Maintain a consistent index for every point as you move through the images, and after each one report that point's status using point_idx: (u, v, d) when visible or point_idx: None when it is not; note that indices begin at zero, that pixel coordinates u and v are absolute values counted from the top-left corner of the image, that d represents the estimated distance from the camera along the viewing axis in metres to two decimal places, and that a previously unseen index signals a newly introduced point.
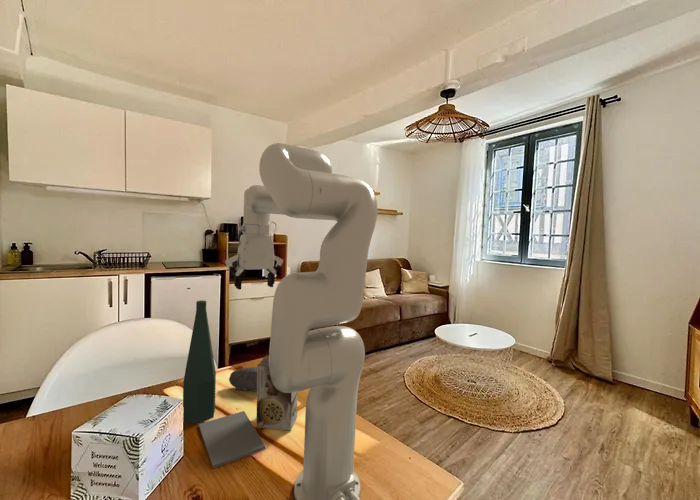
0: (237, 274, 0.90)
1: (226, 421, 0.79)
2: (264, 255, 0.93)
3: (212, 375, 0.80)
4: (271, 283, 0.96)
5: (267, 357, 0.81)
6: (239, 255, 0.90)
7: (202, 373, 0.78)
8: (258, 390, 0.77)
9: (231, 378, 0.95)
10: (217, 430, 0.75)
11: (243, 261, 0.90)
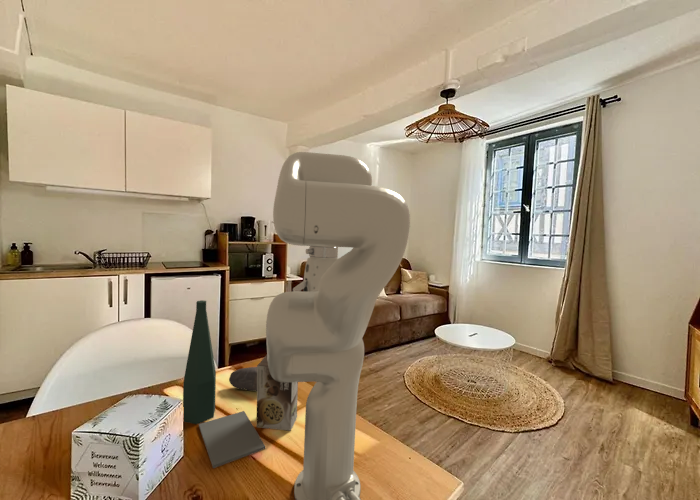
0: None
1: (226, 421, 0.79)
2: None
3: (212, 375, 0.80)
4: None
5: None
6: (307, 281, 0.81)
7: (202, 373, 0.78)
8: (258, 390, 0.77)
9: (231, 378, 0.95)
10: (217, 430, 0.75)
11: (312, 288, 0.81)
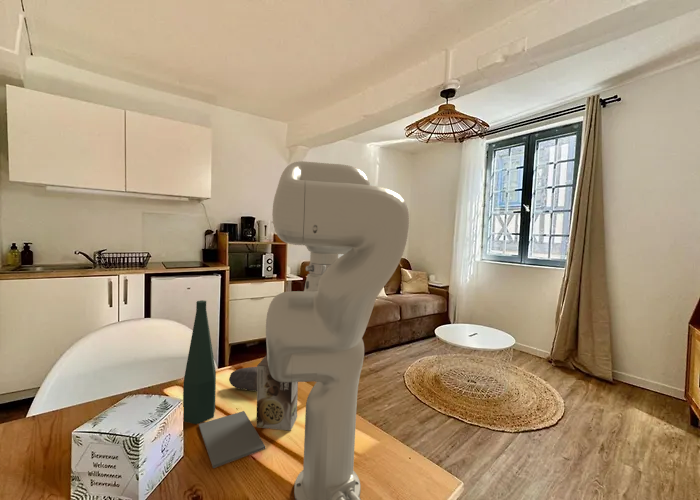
0: None
1: (226, 421, 0.79)
2: None
3: (212, 375, 0.80)
4: None
5: None
6: None
7: (202, 373, 0.78)
8: (258, 390, 0.77)
9: (231, 378, 0.95)
10: (217, 430, 0.75)
11: None
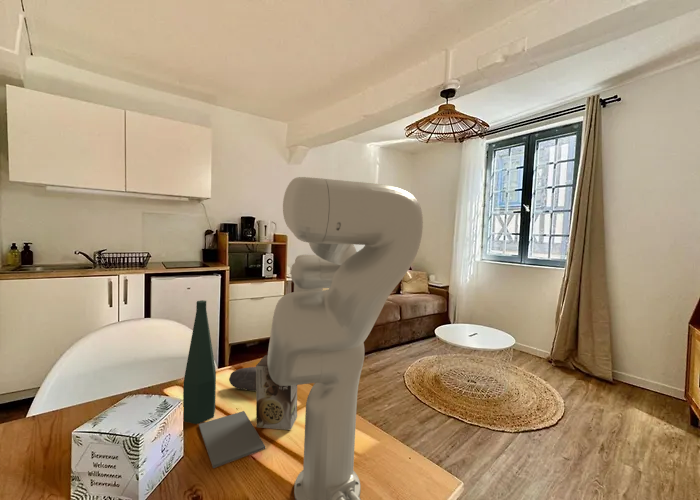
0: None
1: (226, 421, 0.79)
2: None
3: (212, 375, 0.80)
4: None
5: (266, 357, 0.81)
6: None
7: (202, 373, 0.78)
8: (257, 390, 0.77)
9: (231, 378, 0.95)
10: (217, 430, 0.75)
11: None
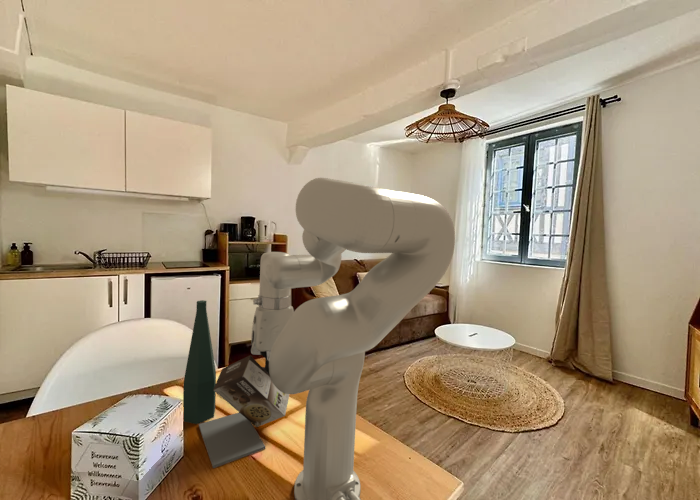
0: None
1: (226, 421, 0.79)
2: None
3: (212, 375, 0.80)
4: None
5: (222, 372, 0.75)
6: (254, 334, 0.75)
7: (202, 373, 0.78)
8: (232, 405, 0.74)
9: None
10: (217, 430, 0.75)
11: (259, 342, 0.74)
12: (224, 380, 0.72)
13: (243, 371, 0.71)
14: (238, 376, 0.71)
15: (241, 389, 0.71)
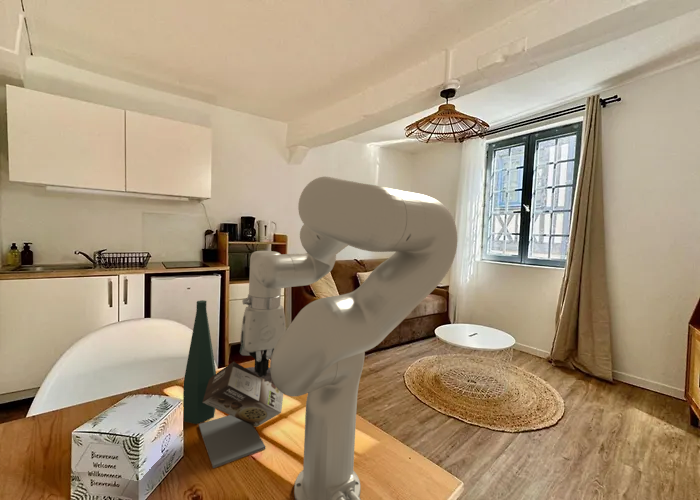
0: (259, 359, 0.76)
1: (226, 421, 0.79)
2: (274, 332, 0.76)
3: (212, 375, 0.80)
4: (264, 371, 0.77)
5: (210, 382, 0.74)
6: (243, 335, 0.73)
7: (202, 373, 0.78)
8: (226, 412, 0.73)
9: None
10: (217, 430, 0.75)
11: (248, 343, 0.73)
12: (211, 390, 0.71)
13: (228, 379, 0.69)
14: (223, 385, 0.69)
15: (230, 397, 0.70)
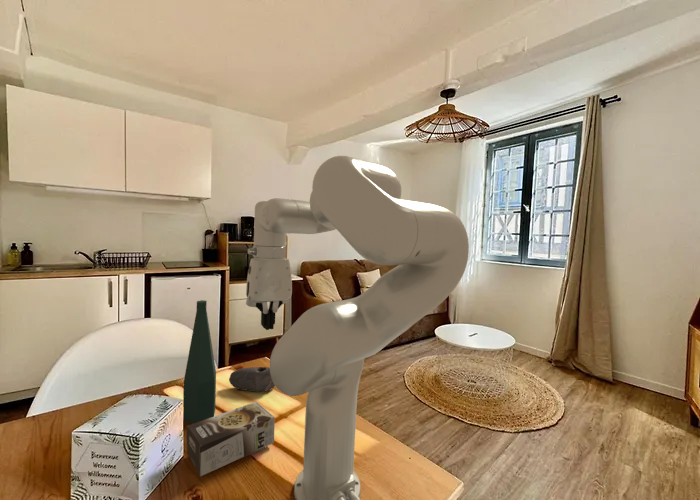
0: (266, 311, 0.75)
1: None
2: (280, 284, 0.75)
3: (212, 375, 0.80)
4: (271, 324, 0.76)
5: (187, 434, 0.66)
6: (249, 285, 0.72)
7: (202, 373, 0.78)
8: None
9: (231, 378, 0.95)
10: None
11: (255, 292, 0.72)
12: (190, 453, 0.65)
13: (199, 468, 0.61)
14: (197, 469, 0.62)
15: None
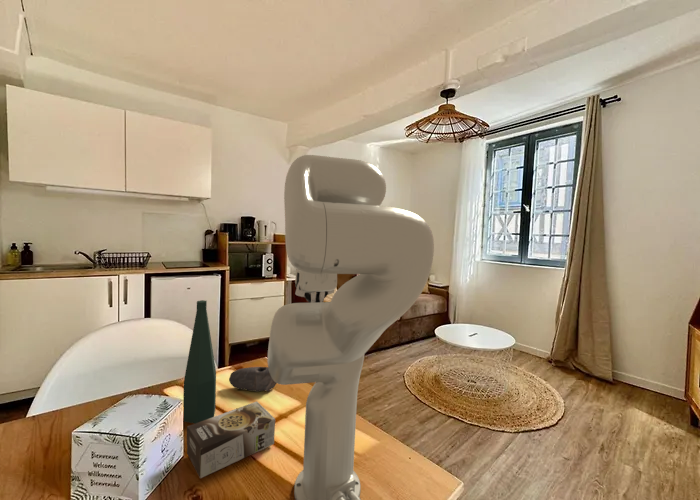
0: (313, 301, 0.79)
1: None
2: (327, 275, 0.79)
3: (212, 375, 0.80)
4: None
5: (187, 435, 0.66)
6: (299, 275, 0.76)
7: (202, 373, 0.78)
8: None
9: (231, 378, 0.95)
10: None
11: (305, 283, 0.76)
12: (190, 453, 0.65)
13: (199, 470, 0.61)
14: (197, 471, 0.62)
15: None
